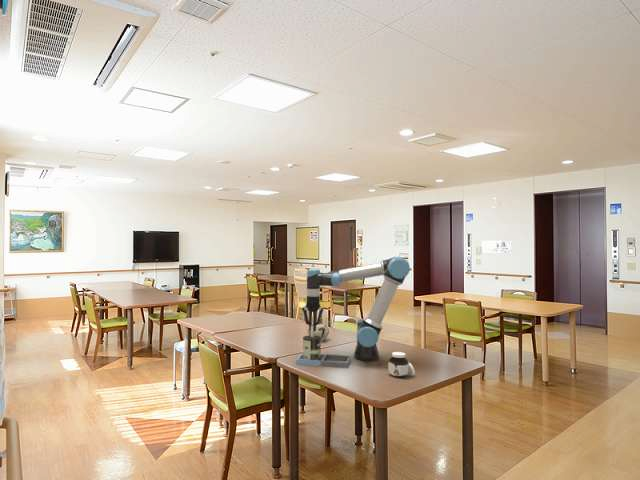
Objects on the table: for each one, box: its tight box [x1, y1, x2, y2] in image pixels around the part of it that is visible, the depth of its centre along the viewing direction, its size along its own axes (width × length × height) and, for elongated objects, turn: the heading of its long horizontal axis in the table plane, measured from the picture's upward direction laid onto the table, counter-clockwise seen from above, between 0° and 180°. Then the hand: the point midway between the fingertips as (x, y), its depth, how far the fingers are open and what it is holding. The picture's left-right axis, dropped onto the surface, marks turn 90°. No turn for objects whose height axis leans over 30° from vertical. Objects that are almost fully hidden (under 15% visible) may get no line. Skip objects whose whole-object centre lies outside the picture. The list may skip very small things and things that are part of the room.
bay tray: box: [295, 352, 352, 369], centre depth 238 cm, size 29×15×3 cm, turn 79°
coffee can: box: [302, 335, 322, 361], centre depth 240 cm, size 10×10×14 cm
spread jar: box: [387, 351, 416, 379], centre depth 216 cm, size 12×11×12 cm
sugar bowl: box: [307, 322, 330, 343], centre depth 293 cm, size 20×15×15 cm
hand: (312, 336), depth 240 cm, fingers closed
